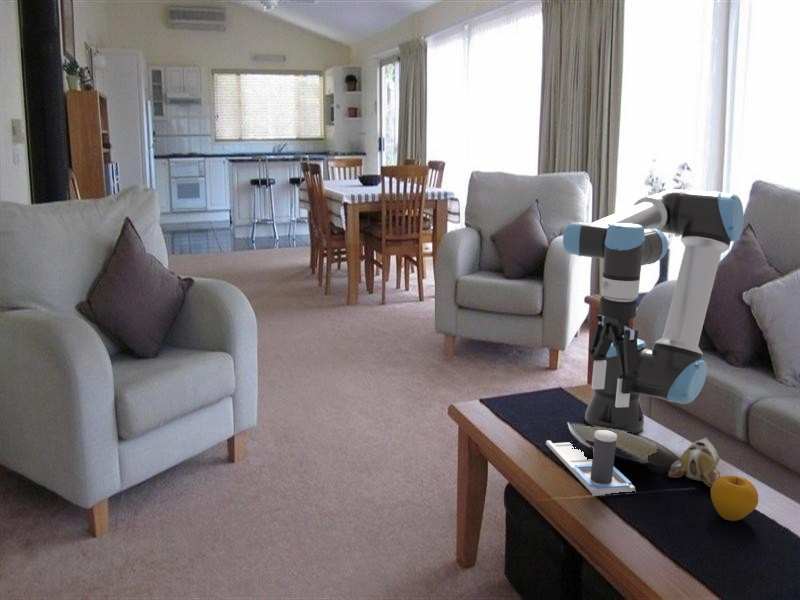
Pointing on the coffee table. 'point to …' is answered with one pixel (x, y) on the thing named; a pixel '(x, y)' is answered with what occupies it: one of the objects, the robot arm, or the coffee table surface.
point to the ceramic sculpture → (699, 463)
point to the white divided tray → (588, 470)
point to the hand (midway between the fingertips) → (609, 397)
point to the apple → (734, 497)
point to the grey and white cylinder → (603, 456)
